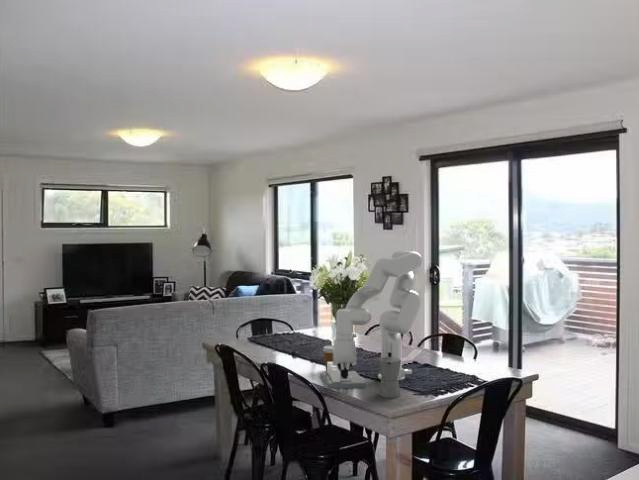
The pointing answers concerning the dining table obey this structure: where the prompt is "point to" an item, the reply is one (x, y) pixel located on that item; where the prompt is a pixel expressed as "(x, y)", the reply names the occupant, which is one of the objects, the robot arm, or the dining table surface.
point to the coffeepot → (389, 376)
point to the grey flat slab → (343, 381)
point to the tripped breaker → (335, 375)
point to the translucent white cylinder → (411, 357)
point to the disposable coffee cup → (328, 354)
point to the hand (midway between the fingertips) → (344, 378)
